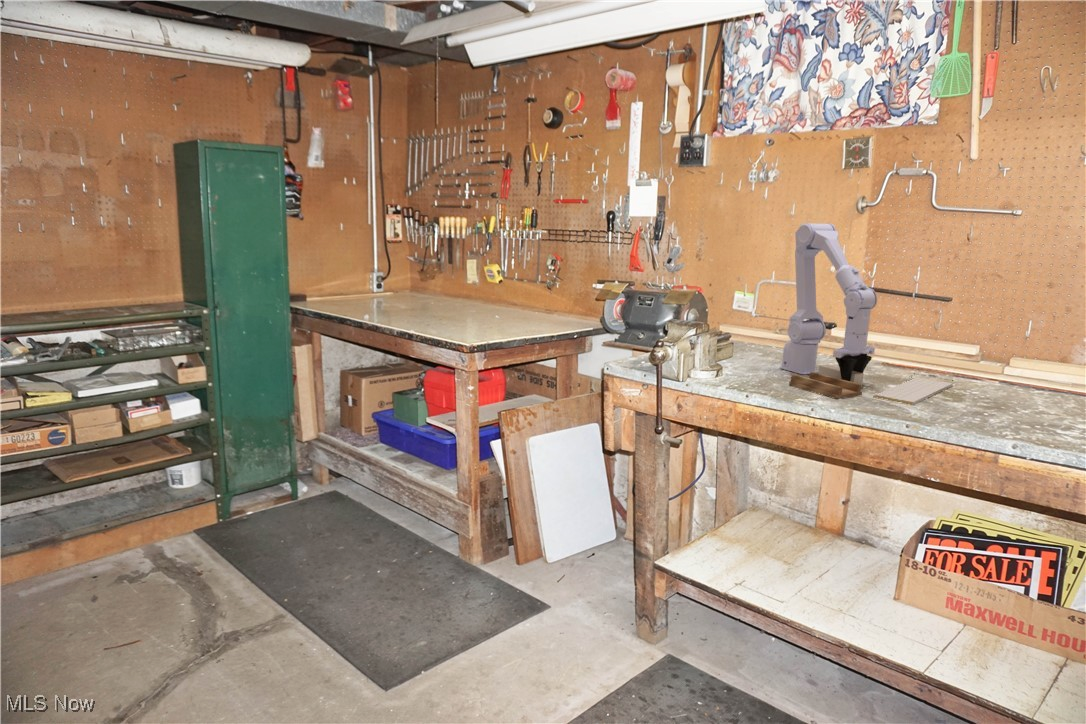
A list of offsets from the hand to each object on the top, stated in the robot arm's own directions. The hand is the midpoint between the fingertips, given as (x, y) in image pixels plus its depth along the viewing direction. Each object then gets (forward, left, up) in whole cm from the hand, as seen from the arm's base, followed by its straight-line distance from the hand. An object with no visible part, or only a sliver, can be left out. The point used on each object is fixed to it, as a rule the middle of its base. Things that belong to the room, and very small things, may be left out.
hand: (850, 380), depth 192 cm
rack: (0, -11, -1) cm, 11 cm away
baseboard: (+10, +11, -2) cm, 15 cm away
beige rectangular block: (-4, 0, -2) cm, 4 cm away
